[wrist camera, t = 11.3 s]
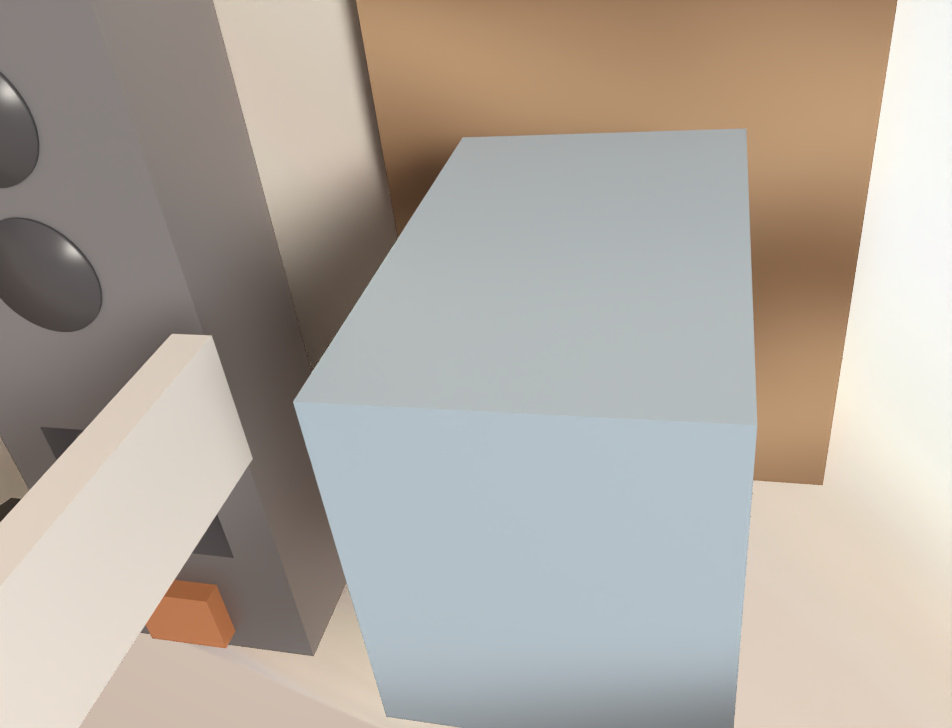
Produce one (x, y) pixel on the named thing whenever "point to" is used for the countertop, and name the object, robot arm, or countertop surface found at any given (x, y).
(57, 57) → the power strip
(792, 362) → the coaster
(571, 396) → the block
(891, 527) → the countertop surface
